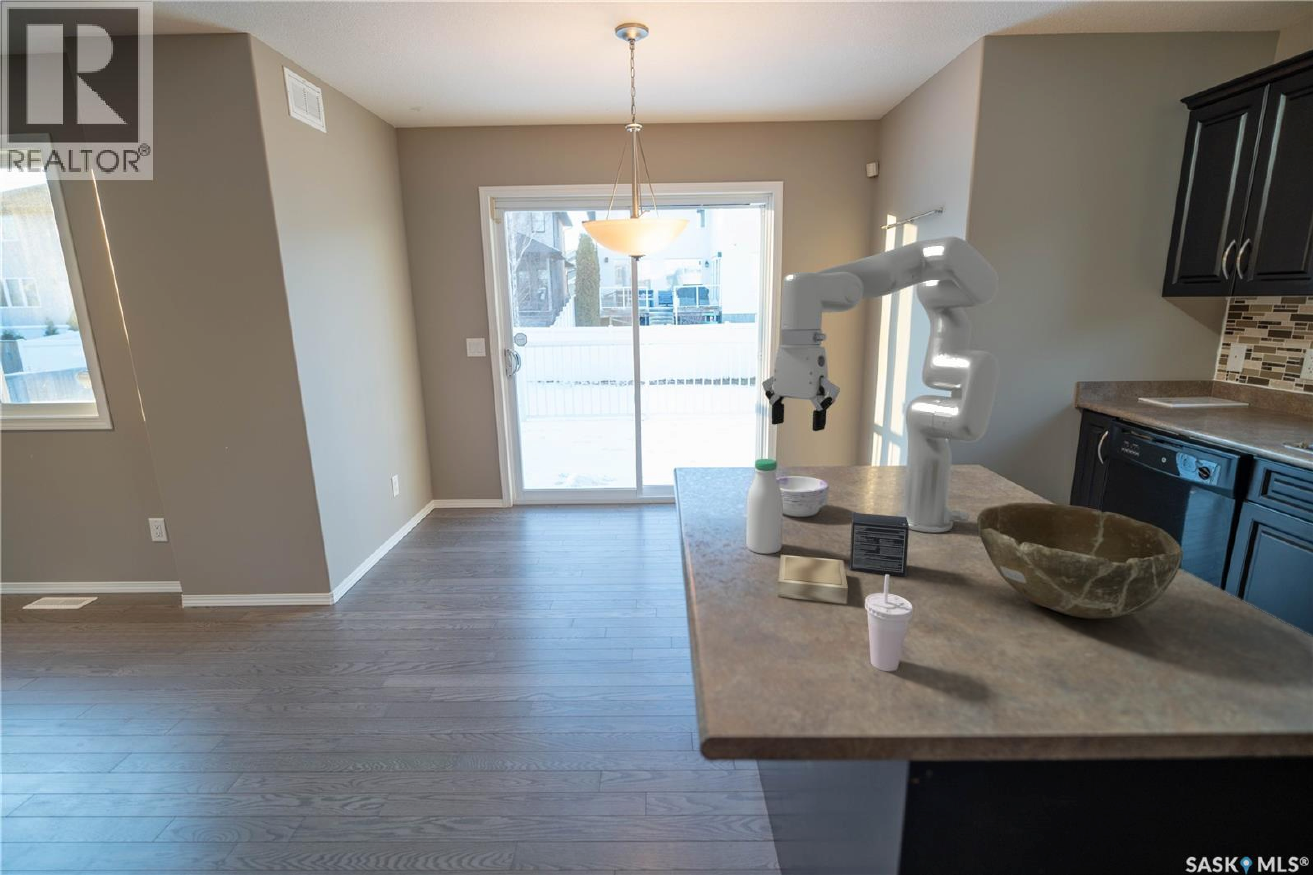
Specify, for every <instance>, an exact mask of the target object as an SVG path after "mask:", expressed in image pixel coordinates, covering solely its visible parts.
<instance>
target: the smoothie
mask: <svg viewBox="0 0 1313 875" xmlns="http://www.w3.org/2000/svg"><path fill="white" fill-rule="evenodd" d="M884 575H885V576H884V587H883V592H878V593H876V592H874V593H871V594H868V595H867V596H866V598H865V601H864V602H865V603H864V608H865V610H866V611H867V612H866V613H867V625H868V626H867V627H868V640H869V654H870V663H871V665H872V666H873V667H874V668H876V669H878V670H880V671H884V672H894V671H896V670H898V667H899V663H900V661H901V660H900V659H901V656H902V651H903V647H904V642H905V639H906V636H907V631H908V630H907V629H908V625H909V622H910V619H911V618H912V617H913V615H914V612H913V610H914V607H913V604H912V603H911V602H910V601H908V600H907V599H906V598H904V597H902V596H899V595H897V594H893V593H889V586H890V575H888V574H884Z"/></svg>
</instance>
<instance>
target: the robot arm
mask: <svg viewBox="0 0 1313 875" xmlns="http://www.w3.org/2000/svg"><path fill="white" fill-rule="evenodd" d="M914 285H915V286H916V287H915V288H916V289H915V290H916V296H917V299H918V301H919V302H920V304H921V306H922V307H923V309H924V311H925V312H926V314H927V315H926V316H927V317H928V320H929V324H930V328H929V329H930V330H929V331H930V333H929V335H928V336H929V337H928V342H927V347H926V352H925V356H924V360H923V364H922V371H921V380H922V383H923V384H924V385H925V386H926V387H927V388H930V389H932V390H939V391H946V392H947V391H948V392H956V393H961V398H959V397H951V396H943V395H936V394H925V395H919V396H917V397H915V398H913V399H912V400H911V401H910V402H909V403H908V405H907V406H906V410H905V424H906V430H907V456H906V468H905V480H904V483H905V484H904V491H903V494H904V495H903V505H902V511H901V512H898V513H897V514H896V515H895V516H899V517H906V518H907V521H908V524H909V530H911V531H912V530H913V531H916V532H923V533H934V534H935V533H945V532H948V531H950V530H952V528H953V522H954V521H960V522H961V521H962V522H969V519H970V518H969V513H968V512H961V511H960V510H959V509H953V510H952V509H950V508H949V507H948V498H949V489H950V478H951V470H952V469H951V467H952V451H951V447H950V444H949V442H948V440H950V441H956V442H961V443H974V442H977V441H979V440H980V439H982V438H983V436H984V435H985V433H986V431H987V428H988V425H989V423H990V420H991V418H990V417H991V414H992V410H993V405H994V402H995V397H996V394H997V388H998V383H999V379H1000V366H999V361H998V360H997V358H996V356H995V355H993V354H992V353H990V352H989V351H984V350H980V349H979V350H977V349H975V350H974V349H969V347H970V342H971V336H972V330H973V328H972V324H971V320H970V319H969V317H968V315H967V313H966V312H965V311H964V309H963V308H978V307H982V306H983V307H984V306H986V305H988V304H990V303H991V302H992V301H993V300H994V299H995V298H996V296H997V294H998V291H999V285H1000V284H999V276H998V273H997V272H996V270H995V268H994V267H993V266H992V265H991V264H990V263H989V262H988V261H987V260H986V259H985V257H983V256H982V255H981V253H980V252H979V251H978V250H977V249H975V247H974V246H972V245H971V244H970V243H969V242H967V241H966V240H965V239H963V238H960V237H958V236H945V237H940V238H933V239H926V240H918V241H914V242H911V243H908V244H905V245H902V246H899V247H896V248H893V249H890V250H887V251H883V252H880V253H878V254H874V255H870V256H866V257H863V258H859V259H857V260H854V261H850V262H848V263H844V264H839V265H835V266H832V267H828V268H825V269H822V270H819V271H816V272H813V271H812V272H809V271H807V272H804V271H803V272H791V273H788V274H787V275H785V276H784V278H783V279H782V290H781V294H782V295H781V318H780V319H781V325H780V346H778V348H777V351H776V354H775V355H776V357H775V362H774V370H773V376H771V377H769V378H768V379H766V380H764V381H762V383H761V385H762V388H763V390H764V392H765V393H764V394H765V397H766V398H767V399H768V403H769V405H771V425H774V426H775V425H779V424H783V423H784V422H785V403H783V402H784V400H785V399H786V398H789V399H797V400H799V399H800V400H807V401H809V400H810V401H811V403H812V405H813V406H814V408H815V410H813V411H812V429H811V430H813V432H819V431H824V430H825V429H826V427H825V426H826V424H827V410H829V409H830V407H831V406H832V405H833V404H834V403H835V402H836V399H837V397H838V396H839V394H840V393H841V392H840V391H841V388H840V387H839V386H837V385H836V384H834V383H833V382H831V381H830V380H829V370H828V357H827V352H826V348H825V346H822V342H825V341H826V340H827V334H826V333H823V330H822V326H823V324H822V323H823V313H844V312H845V313H846V312H848V311H851V310H853V309H854V308H856V307H858V306H859V304H860V302H862V300H863V299H864V300H865V299H872V298H873V299H874V298H878V297H885V296H888V295H892V294H894V293H895V292H898V291H901V290H904V289H906V288H908V287H912V286H914Z"/></svg>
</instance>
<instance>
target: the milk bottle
mask: <svg viewBox="0 0 1313 875" xmlns="http://www.w3.org/2000/svg"><path fill="white" fill-rule="evenodd" d="M777 468H778V463H777V461H776V460H774V459H773V458H772V459H771V458H759V459H756V460H755V461H754V471H755V475H754V479H753V481H752V483H751V486H750V487H749V490H748V492H747V493H748V494H747V502H746V532H745V535H746V537H745V539H746V540H745V541H746V544H745V545H746V547H747V549H748V550H749V551H750V552H753V553H757V554H761V555H762V554H763V555H768V554H771V555H772V554H775V553H777V552H779V551H781V548H782V545H783V544H782V542H783V515H784V514H783V499H782V493H781V490H780V487H779V485H778V483H777V480H776V478H777V477H776V472H777Z"/></svg>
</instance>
